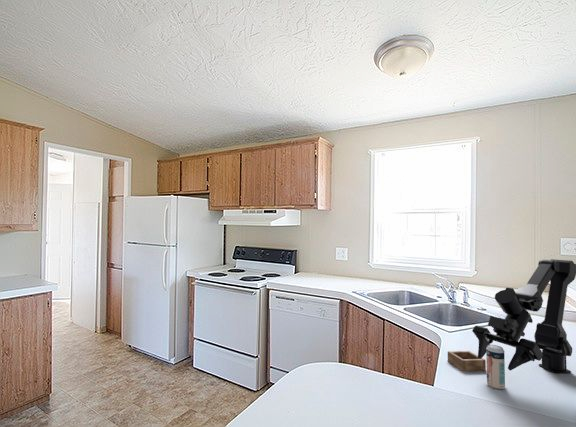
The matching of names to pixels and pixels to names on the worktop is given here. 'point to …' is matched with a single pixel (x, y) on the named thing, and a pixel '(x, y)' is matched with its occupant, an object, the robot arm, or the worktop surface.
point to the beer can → (495, 366)
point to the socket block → (466, 361)
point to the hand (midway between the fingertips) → (493, 363)
